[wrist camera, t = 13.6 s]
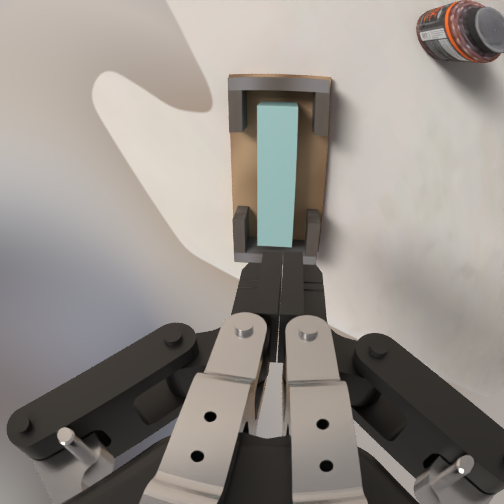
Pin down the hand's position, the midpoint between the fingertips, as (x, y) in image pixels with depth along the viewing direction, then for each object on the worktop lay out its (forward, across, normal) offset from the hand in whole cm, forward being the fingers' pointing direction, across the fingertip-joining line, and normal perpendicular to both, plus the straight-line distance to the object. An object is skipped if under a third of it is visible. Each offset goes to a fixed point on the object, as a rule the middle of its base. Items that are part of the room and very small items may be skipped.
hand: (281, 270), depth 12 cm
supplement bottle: (+23, -16, -14) cm, 32 cm away
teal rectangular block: (+22, +1, +3) cm, 22 cm away
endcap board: (+23, +1, +3) cm, 23 cm away
